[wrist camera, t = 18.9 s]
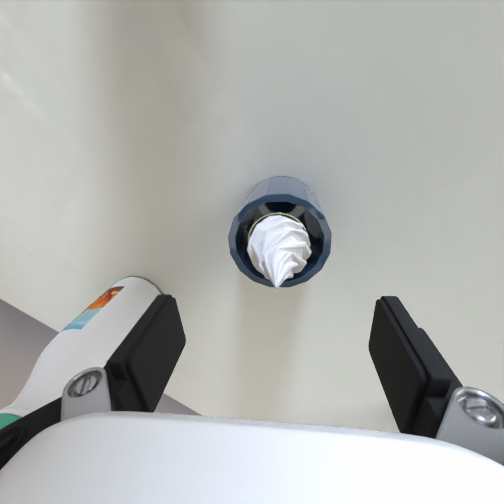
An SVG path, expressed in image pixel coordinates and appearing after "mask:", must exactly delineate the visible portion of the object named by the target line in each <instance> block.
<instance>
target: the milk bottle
mask: <svg viewBox="0 0 504 504" xmlns="http://www.w3.org/2000/svg"><path fill="white" fill-rule="evenodd" d="M158 295H161V293H160V292H159V290H158V289H157V288H156V287H155V286H154V285H153V284H151V283H150V282H148V281H147V280H145V279H142V278H137V277H129V278H124V279H121V280H119V281H118V282H117V283H116V284H114V285H113V286H112V287H111V288H110V289H109V290H107V291H106V292H105V293H104V294H103V295H102V296H100V297H99V298H98V299H97V300H96V301H95V302H94V303H92V304H91V305H90V306H89V307H88V308H87V309H86V310H84V311H83V312H82V313H81V314H80V315H79V316H78V317H77V318H75V319H74V320H73V321H72V322H71V323H70V324H69V325H68V326H67V327H65V328H64V329H63V330H62V331H61V332H60V333H59V334H58V335H57V336H56V337H55V338H54V339H53V340H52V341H51V342H50V343H49V345H48V346H47V347H46V348H45V350H44V351H43V352H42V354H41V355H40V357H39V358H38V360H37V362H36V364H35V366H34V369H33V371H32V373H31V375H30V377H29V379H28V381H27V383H26V384H25V386H24V388H23V389H22V391H21V392H20V394H19V395H18V397H17V398H16V399H15V401H14V402H13V403H12V404H11V405H10V406H9V407H5V408H3V409H1V410H0V429H2V428H4V427H5V426H7V425H9V424H10V423H12V422H14V421H16V420H18V419H20V418H22V417H24V416H25V415H27V414H29V413H31V412H33V411H35V410H37V409H39V408H41V407H42V406H44V405H46V404H48V403H50V402H52V401H54V400H56V399H57V398H59V397H61V396H62V393H63V389H64V387H65V386H66V384H67V383H68V382H69V381H70V380H71V379H72V378H73V377H74V376H75V375H77V374H78V373H80V372H82V371H83V370H86V369H88V368H92V367H102V368H103V367H104V366H105V364H106V362H107V360H108V359H109V358H110V357H111V355H112V354H113V353H114V351H115V350H116V349H117V347H118V346H119V345H120V344H121V342H122V341H123V340H124V338H125V337H126V336H127V334H128V333H129V332H130V331H131V329H132V328H133V327H134V325H135V324H136V323H137V321H138V320H139V319H140V317H141V316H142V315H143V314H144V312H145V311H146V310H147V308H148V307H149V306H150V304H151V303H152V302H153V301H154V299H155V298H156V297H157V296H158Z"/></svg>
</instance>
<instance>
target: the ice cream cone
mask: <svg viewBox="0 0 504 504" xmlns="http://www.w3.org/2000/svg"><path fill="white" fill-rule="evenodd" d="M309 247H310V241H309V237H308V234H307V231H306V229H305V227H304V225H303V224H302V223H301V222H300V221H299V220H298V219H297V218H295V217H293V216H291V215H288V214H285V213H281V212H278V213H271V214H268V215H265V216H263V217H261V218H260V219H258V220H257V221H256V222H255V223H254V224H253V226H252V227H251V229H250V232H249V235H248V248H247V251H248V253H249V256H250V259H251V261H252V264H253V265H254V267H255V268H256V270H257V271H259V272H260V273H262V274H263V275H264V276H265V278H266V279H269V280H270V281H271V282H272V283H273V285H274V286H275V288H278V287H279V286H280V285H281V284H282V283H283V281H284V280H285V279H287V278H292V277H293V276H294V275H293V273H299V272H301V271H302V269H303V268H304V267H305V265H306V264H307V262H306V261H305V260H306V259H308V258H309V256H310V255H311V252H312V251H311V249H310V248H309Z"/></svg>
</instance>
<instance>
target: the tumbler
mask: <svg viewBox="0 0 504 504" xmlns="http://www.w3.org/2000/svg"><path fill="white" fill-rule="evenodd" d="M278 212H281V213H285V214H288V215H291V216H293V217H295V218H297V219H298V220H299V221H300V222H301V223H302V224H303V225H304V227H305V229H306V231H307V234H308V237H309V241H310V247H309V248H310V249H311V251H312V252H311V255H310V256H309V258H308V259H306V260H305V261H306V262H307V264H306V265H305V267H304V268H303V269H302V271H301V272H299V273H293V275H294V276H293V277H292V278H287V279H285V280H284V281H283V283H282V284H281V285H280V286H279V287H292V286H294V285H297V284H300V283H303V282H306V281H308V280H309V279H310V278H311V277H313V276H314V275H315V274H316V273H318V272H319V271H320V270H321V269H322V267H323V266H324V264H325V262H326V260H327V258H328V256H329V254H330V249H331V231H330V229H329V226H328V224H327V221H326V219H325V216H324V214H323V212H322V210H321V208H320V206H319V204H318V201H317V199H316V197H315V195H314V193H313V192H312V191H311V190H310V189H309V188H308V186H306V185H305V184H304V183H303V182H301V181H299V180H297V179H295V178H291V177H286V176H278V177H272V178H269V179H267V180H264V181H263V182H261V183H260V184H258V185H257V186H256V187H255V188H254V189H253V190H252V192H251V193H250V194H249V195H248V197H247V198H246V200H245V201H244V203H243V205H242V206H241V208H240V209H239V211H238V213H237V214H236V216H235V218H234V219H233V223H232V226H231V229H230V232H229V237H228V238H229V246H230V254H231V256H232V258H233V259H234V261H235V263H236V265H237V266H238V268H239V270H240V271H241V272H243V273H244V274H245V275H246V276H248V277H249V278H250V279H251V280H253V281H254V282H257V283H260V284H263V285H266V286H269V287H275V286H274V285H273V283H272V282H271V281H270V280H269V279H266V278H265V276H264V275H263V274H262V273H260V272H259V271H257V270H256V268H255V267H254V265H253V264H252V261H251V259H250V256H249V253H248V251H247V248H248V235H249V232H250V229H251V227H252V226H253V224H254V223H255V222H256V221H257V220H258V219H260V218H261V217H263V216H265V215H268V214H271V213H278Z"/></svg>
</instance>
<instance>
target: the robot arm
mask: <svg viewBox="0 0 504 504" xmlns="http://www.w3.org/2000/svg"><path fill="white" fill-rule="evenodd" d="M185 342H186V338H185V334H184V330H183V326H182V323H181V319H180V315H179V311H178V307H177V303H176V300H175V298H172V296H171V295H158V296H157V297H156V298H155V299H154V301H153V302H152V303H151V304H150V306H149V307H148V308H147V310H146V311H145V312H144V314H143V315H142V316H141V317H140V319H139V320H138V321H137V323H136V324H135V325H134V327H133V328H132V329H131V331H130V332H129V333H128V334H127V336H126V337H125V338H124V340H123V341H122V342H121V344H120V345H119V346H118V347H117V349H116V350H115V351H114V353H113V354H112V355H111V357H110V358H109V359H108V360H107V362H106V364H105V366H104V367H103V368H102V367H92V368H88V369H86V370H83V371H82V372H80V373H78V374H77V375H75V376H74V377H73V378H72V379H71V380H70V381H69V382H68V383H67V384H66V386H65V387H64V389H63V393H62V396H61V397H59V398H57V399H56V400H54V401H52V402H50V403H48V404H46V405H44V406H42V407H41V408H39V409H37V410H35V411H33V412H31V413H29V414H27V415H25V416H24V417H22V418H20V419H18V420H16V421H14V422H12V423H10V424H9V425H7V426H5V427H4V428H2V429H0V504H504V404H503V403H501V402H500V401H499V400H498V399H496V398H495V397H493V396H492V395H490V394H488V393H487V392H484V391H482V390H479V389H477V388H472V387H463V386H462V384H461V383H460V381H459V380H458V378H457V377H456V376H455V374H454V373H453V371H452V370H451V368H450V367H449V365H448V364H447V363H446V361H445V360H444V358H443V357H442V355H441V354H440V352H439V351H438V350H437V348H436V347H435V345H434V344H433V342H432V341H431V339H430V338H429V336H428V335H427V334H426V332H425V331H424V330H423V329H422V328H418V327H417V325H416V324H415V322H414V321H413V319H412V318H411V316H410V315H409V313H408V312H407V310H406V309H405V307H404V306H403V304H402V303H401V301H400V300H399V298H398V297H396V296H382V297H381V299H380V300H379V299H378V300H377V301H376V305H375V311H374V317H373V322H372V328H371V334H370V340H369V352H370V355H371V358H372V360H373V363H374V365H375V368H376V371H377V373H378V376H379V379H380V381H381V384H382V387H383V389H384V392H385V395H386V397H387V400H388V402H389V405H390V408H391V410H392V413H393V416H394V418H395V421H396V424H397V426H398V429H399V431H400V432H401V433H395V432H385V431H375V430H365V429H356V428H344V427H332V426H320V425H309V424H297V423H285V422H272V421H260V420H247V419H235V418H222V417H208V416H195V415H194V416H193V415H181V414H168V413H167V414H166V413H153V412H154V411H155V409H156V407H157V404H158V402H159V400H160V398H161V396H162V394H163V391H164V389H165V387H166V385H167V383H168V381H169V378H170V376H171V374H172V372H173V370H174V368H175V366H176V363H177V361H178V359H179V357H180V355H181V353H182V350H183V348H184V346H185ZM403 433H405V434H403Z"/></svg>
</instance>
